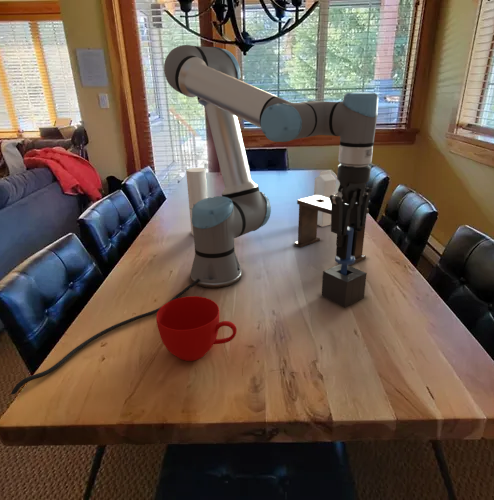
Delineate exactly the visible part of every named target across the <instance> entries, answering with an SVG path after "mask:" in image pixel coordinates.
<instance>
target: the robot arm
mask: <svg viewBox="0 0 494 500" xmlns="http://www.w3.org/2000/svg"><path fill="white" fill-rule="evenodd" d="M163 72H164V73H163V74H164V77H165V80H166V82H167V83H168V85H169V86H170V87H171V88H172V89H173V90H175V91H176V92H178V93H180V94H181V95H183V96H185V97H188V98H196V99H197V102H198V103H199V104H200V105H201V106H203V107H204V108H205V112H206V117H207V121H208V124H209V128H210V132H211V136H212V140H213V145H214V150H215V153H216V157H217V160H218V164H219V169H220V174H221V176H222V181H223V185H224V189H223V191H222V192H221V195H219V196H212V197H211V196H209V197H208V198H206V199H203V200H201V201H199V202H197V203H196V204H195V205H194V206H193V209H192V224H193V234H194V236H193V244H194V245H193V246H194V257H193V261H192V265H191V269H190V280H191V281H192V283H190V284H189V285H188V286H186V287H185V288H184V289H182V290H181V291H180V292H179V293H177V294H176V295H174V296H173V297H172V298H170V300H169V301H168V302H170V301H172V300H174V299H177V298H181V297H182V296H183V295H184V294H186V292H188V291H189V290H190V289H192V288H194V286H196V285H197V286H198V287H201V288H208V289H209V288H210V289H220V288H226V287H229V286H232V285H234V284H236V283H237V282H239V281H240V280H241V278H242V266H241V264H240V262H239V259H238V256H237V255H236V251H235V239H237V238H239V237H242V236H243V235H246V234H249V233H251V232H255V231H258V230H259V229H260V228H262V227H263V226H265V225H266V224H267V223H268V221H269V220H270V218H271V214H272V205H271V201H270V199H269V198H268V196H266V194H265V193H264V192H263V191H260V187H259V184H258V183H255V182H254V181H253V179H252V174H251V170H250V165H249V161H248V157H247V153H246V148H245V144H244V140H243V135H242V132H241V131H242V130H241V126H240V123H239V118H240V119H241V120H243V121H245V122H247V123H249V124H251V125H254V126H255V127H257V128H260V129H261V131H262V133H263V134H264V137H266V139H268V140H269V141H271V142H275V143H278V142H280V143H288V142H290V141H294V140H298V139H299V140H300V139H304V138H310V137H314V136H331V137H332V136H333V137H339V147H338V148H339V149H338V157H337V161H338V163H339V164H338V165H337V172H336V173H337V174H336V180H337V181H338V182H339V186H338V188H337V192H336V193H335V195H330V202H331V225H330V232H331V233H333V234H335V235H336V241H335V242H336V244H335V245H336V249H335V256H337V257H339V258H342V259H346V254H347V245H348V235H347V234H346V233H347V227H348V222H349V227H352V228H354V232H353V242H352V251H351V255H352V256H354V255H355V249H356V241H357V236H358V231H360V232H361V231H362V228H360V227H364V225H365V226H366V224H365V220H366V221H367V215H368V214H367V209H369V204H370V203H369V202H370V199H371V196H372V193H373V188H372V187H371V188H370V187H367V183H368V182H369V181H370V179H371V171H372V167H371V164H372V161H373V151H374V144H375V138H376V137H375V135H376V129H377V122H378V116H379V96H378V94H377V93H376V92H367V91H366V92H364V91H363V92H346V93H344V95H343V99H342V101H324V100H315V99H314V100H304V101H303V100H302V101H300V102H291V101H288V100H286V99H284V98H282V97H279V96H277V95H275V94H274V93H273V94H272V93H270V92H268V91H266V90H263V89H260V88H259V87H256V86H254V85H252V84H250V83H247V82H245V81H243V80H240V79H241V67H240V64H239V62H238V60H237V58H236V56H235V55H234V54H233V52H231V51H229V50H228V49H225V48H221V47H219V46H202V45H201V46H199V45H191V44H182V45H178V46H176V47H174V48H173V49H171V50H170V51H169V53H168V54H167V55H166V57H165V60H164V64H163ZM345 203H346V204H345ZM360 220H361V221H360ZM161 307H162V306H159V307H158V308H156V309H154V310H151V311H148V312H145V313H142V314H139V315H136V316H134V317H131V318H128V319H126V320H124V321H121V322H117V323H115V324H114V325H111V326H109V327H107V328H105V329H103V330H101V331H99V332H98V333H96V334H94V335H93V336H91V337H89V338H87V339H86V340H84V342H82V343H80V344H79V345H78V346H76V347H75V348H73V349H72V350H71V351H69V352H68V353H67V354H66V355H65V356H63V357H62V359H60V360H59V361H58V362H57V363H55V364H54V365H52V366H51V367H49V368H48V369H45V370H44V371H41V372H38V373H34V374H32V375H28V376H27V377H24V378H23V379H22V380H20V381H19V382H18V383H17V384H16V385H15V386H14V387H13V388H12V391H11V393H10V395H15V394H17V393H18V392H19V390H20V389H21V388H22V387H23V386H24V385H25V384H27V383H29V382H32V381H34V380H38V379H40V378H44V377H45V376H48V375H50V374H51V373H54V371H56V370H58V369H59V368H60V367H61V366H63V365H64V364H65V363H66V362H67V361H68V360H70V359H71V357H73V356H74V355H75V354H77V353H78V352H79V351H80V350H82V349H83V348H85V347H86V346H88V345H89V344H90V343H92V342H94V341H96V340H97V339H98V338H100V337H102V336H104V335H106V334H107V333H110V332H112V331H114V330H116V329H118V328H120V327H123V326H125V325H128V324H131V323H133V322H135V321H137V320H141V319H143V318H147V317H149V316H150V317H151V316H152V315H156V314H157V312H158V310H159V309H160V308H161Z"/></svg>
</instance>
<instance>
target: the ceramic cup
mask: <svg viewBox="0 0 494 500" xmlns="http://www.w3.org/2000/svg"><path fill="white" fill-rule="evenodd" d="M169 301H170V300H169ZM169 301H167V302H166V303H164V304H163V305H162V306H160V307H161V308H160V307H159V308H160V309H159V310H158V312H157V313H156V314H155V315H156V317H155V321H156V322H155V323H156V326H157V331H158V334H159V337H160V339H161V341H162V344H163V346H164V347H165V348H166V349H167V351H168V352H169V353H171V354H172V355H173V356H175V357H176V358H178V359H180V360H182V361H186V362H195V361H198V360H199V359H202V358H203V357H204V356H205V355H206V354H207V353H208V352H210V350H211V349H212V347H213V346H214V345H221V344H227V343H229V342H231V341H232V340H234V338H235V337H236V335H237V333H238V329H237V326H236V324H235V323H233V321H230V320H223V321H220V308H219V305H218V303H217V302H216V301H214V300H212V299H210V298H208V297H204V296H200V295H199V296H198V295H191V296H189V295H188V296H180V297H179V298H177V299H174V300H172V301H170V302H169ZM222 327H229V328H230V329H231V330H232V334H231V335H230V336H228V337H225V338H218V335H219V329H221V328H222Z"/></svg>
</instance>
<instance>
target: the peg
mask: <svg viewBox="0 0 494 500" xmlns="http://www.w3.org/2000/svg"><path fill="white" fill-rule="evenodd" d="M353 232H354V228H352V227H347V233H346V234H347V235H348V245H347V254H346V259H342V258H339V257H337V256H336V255H335V257H334V261H335V263H337V264H338V263H339V264H341V272H340V274H343V275H345V276H346V275H347V266H348V265H350V266H351V264H352V265H355V263H354V262H355V257H354V256H352V255H351V251H352V242H353ZM339 264H338V265H339Z"/></svg>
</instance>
